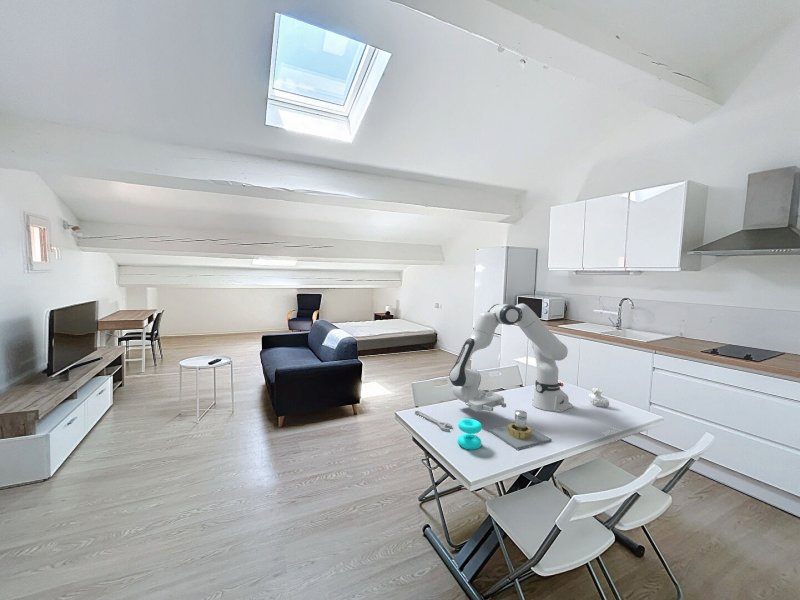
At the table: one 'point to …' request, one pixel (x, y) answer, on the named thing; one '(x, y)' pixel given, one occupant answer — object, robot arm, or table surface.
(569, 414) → the table surface
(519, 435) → the brass ring
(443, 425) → the adjustable wrench
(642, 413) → the table surface
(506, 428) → the plate
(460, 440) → the donuts
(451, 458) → the table surface
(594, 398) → the duck figurine
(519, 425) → the cylinder
